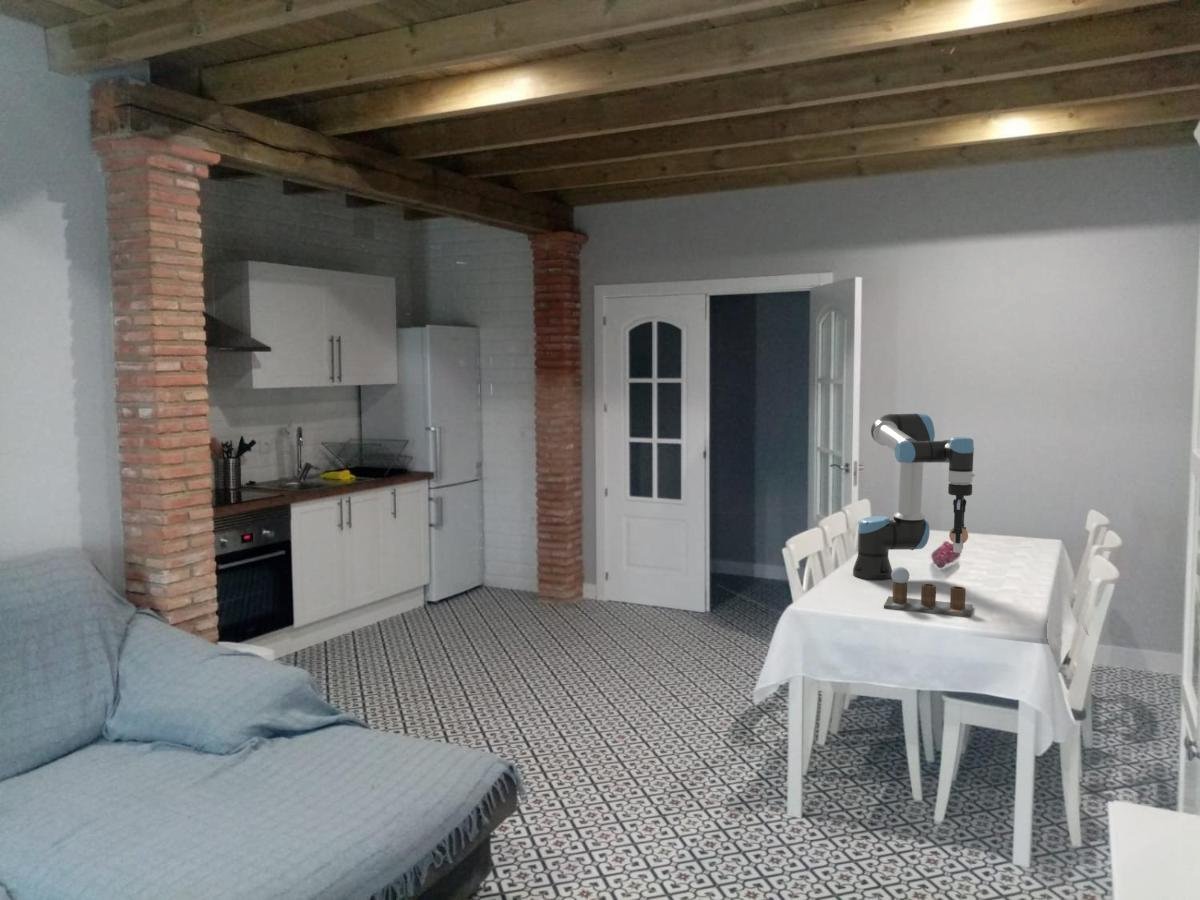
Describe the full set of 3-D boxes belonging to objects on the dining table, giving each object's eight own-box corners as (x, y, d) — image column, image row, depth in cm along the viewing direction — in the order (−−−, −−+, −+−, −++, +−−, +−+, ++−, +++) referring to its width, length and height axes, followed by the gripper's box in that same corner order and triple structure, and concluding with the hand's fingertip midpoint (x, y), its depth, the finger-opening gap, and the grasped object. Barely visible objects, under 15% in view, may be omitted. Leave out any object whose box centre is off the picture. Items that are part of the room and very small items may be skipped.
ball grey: (890, 585, 320) (890, 568, 319) (892, 581, 325) (892, 564, 325) (908, 586, 317) (908, 569, 317) (910, 582, 323) (910, 566, 322)
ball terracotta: (948, 545, 310) (948, 527, 310) (949, 541, 316) (950, 524, 315) (967, 546, 308) (967, 528, 307) (968, 543, 313) (968, 525, 313)
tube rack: (883, 608, 318) (884, 585, 317) (888, 598, 330) (889, 577, 329) (970, 617, 306) (971, 593, 306) (972, 607, 318) (973, 584, 317)
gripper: (970, 487, 300) (968, 556, 302) (973, 480, 317) (971, 546, 319) (946, 486, 303) (944, 555, 305) (950, 479, 320) (948, 544, 322)
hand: (958, 550), depth 312 cm, fingers closed on ball terracotta, 6 cm apart
